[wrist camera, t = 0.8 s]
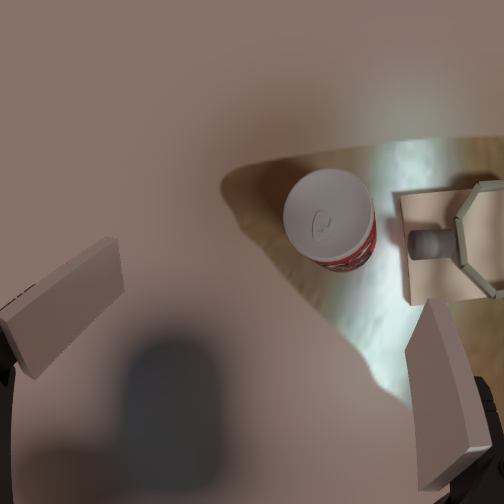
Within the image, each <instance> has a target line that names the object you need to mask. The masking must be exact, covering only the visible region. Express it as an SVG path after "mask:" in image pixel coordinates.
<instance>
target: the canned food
mask: <svg viewBox="0 0 504 504" xmlns="http://www.w3.org/2000/svg"><path fill="white" fill-rule="evenodd" d="M283 223H284V228H285V231H286V235H287V236H288V238H289V240H290V242H291V243H292V245H293V246H294V247H295V248H296V249H297V251H299V252H300V253H301V254H303V255H304V256H305V257H307V258H308V259H310V260H312V261H314V262H316V263H317V264H319V265H321V266H323V267H324V268H326V269H328V270H330V271H334V272H349V271H352V270H355V269H357V268H359V267H360V266H362V265H363V264H364V263H365V262H366V261H367V260H368V259H369V257H370V256H371V255H372V253H373V250H374V248H375V244H376V221H375V211H374V206H373V200H372V198H371V195H370V193H369V191H368V189H367V188H366V186H365V185H364V183H363V182H362V181H361V180H360V179H359V178H358V177H357V176H355V175H354V174H352V173H350V172H348V171H346V170H343V169H339V168H323V169H319V170H315V171H313V172H311V173H309V174H307V175H306V176H304V177H303V178H301V179H300V180H299V181H298V182H297V183H296V184H295V185H294V187H293V188H292V190H291V191H290V193H289V195H288V197H287V199H286V202H285V206H284V211H283Z"/></svg>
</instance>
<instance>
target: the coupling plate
mask: <svg viewBox="0 0 504 504" xmlns="http://www.w3.org/2000/svg"><path fill="white" fill-rule="evenodd" d="M400 204H401V211H402V218H403V225H404V233H405V241H406V251H407V261H408V273H409V287H410V306H414V305H425V303H426V301H427V298H432V299H438V300H444V301H445V302H452V301H460V300H468V299H476V298H483V297H488V298H491V299H499V298H504V180H492V181H479V182H478V184H477V183H476V185H475V186H474V187H473V189H465V190H453V191H442V192H431V193H421V194H411V195H401V196H400Z"/></svg>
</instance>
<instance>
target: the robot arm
mask: <svg viewBox="0 0 504 504" xmlns="http://www.w3.org/2000/svg"><path fill="white" fill-rule="evenodd" d="M123 292H125V289H124V282H123V276H122V269H121V262H120V254H119V246H118V240H117V239H113V238H108V237H104V238H103V239H101V240H99V241H98V242H96V243H95V244H93V245H92V246H90V247H89V248H87V249H86V250H84V251H83V252H81V253H80V254H78V255H77V256H75V257H74V258H72V259H71V260H69V261H68V262H66V263H65V264H63V265H62V266H60V267H59V268H58V269H56V270H55V271H53V272H52V273H51V274H49V275H48V276H46V277H45V278H43V279H42V280H41V281H39V282H38V283H37V284H34V285H32V286H31V287H29V288H28V289H27V290H25V291H24V293H22V294H20V295H19V296H17V298H16V299H13V300H12V301H11V302H9V303H8V304H7V305H6V306H4V307H3V308H2V309H1V310H0V504H14V503H13V493H12V479H11V416H12V403H13V392H14V383H15V375H16V371H15V367H14V364H15V363H16V362H17V361H18V363H19V365H20V367H21V369H22V371H23V372H24V373H25V374H26V375H28V376H29V377H31V378H32V379H34V380H36V379H37V378H38V377H39V376H40V375H41V373H42V372H43V371H44V370H45V369H46V368H47V367H48V366H49V365H50V364H51V363H52V362H53V361H54V360H55V359H56V358H57V357H58V356H59V355H60V354H61V353H62V352H63V351H64V350H65V349H66V348H67V346H69V345H70V344H71V343H72V342H73V341H74V340H75V339H76V338H77V337H78V336H79V335H80V334H81V333H82V332H83V331H84V330H85V329H86V328H87V327H88V326H89V325H90V324H91V323H92V322H93V321H94V320H95V319H96V318H97V317H98V316H99V315H100V314H101V313H102V312H103V311H104V310H105V309H107V308H108V307H109V306H110V305H111V304H112V303H113V302H114V301H115V300H116V299H117V298H118V297H119V296H120V295H121V294H122V293H123ZM405 356H406V362H407V368H408V375H409V382H410V389H411V396H412V405H413V414H414V423H415V434H416V448H417V466H418V492H432V491H440V490H441V489H442V488H444V487H445V486H446V485H448V484H449V483H450V492H449V493H448V494H446V495H445V496H443V497H442V498H440V499H439V500H438V501H436V502H435V503H434V504H439V503H440V504H504V434H503V431H502V427H501V423H500V420H499V416H498V413H497V412H496V410H497V409H496V406H495V403H494V402H493V396H492V393H491V390H490V388H489V386H488V385H487V383H486V382H485V381H484V379H483V378H482V377H477V376H473V373H472V370H471V367H470V364H469V362H468V359H467V356H466V353H465V351H464V348H463V345H462V343H461V340H460V337H459V335H458V332H457V330H456V327H455V325H454V322H453V320H452V318H451V315H450V313H449V311H448V308H447V306H446V304H445V301H444V300H438V299H432V298H427V301H426V303H425V306H424V308H423V311H422V313H421V316H420V318H419V320H418V323H417V325H416V327H415V329H414V332H413V334H412V336H411V338H410V340H409V343H408V345H407V347H406V349H405Z"/></svg>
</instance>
